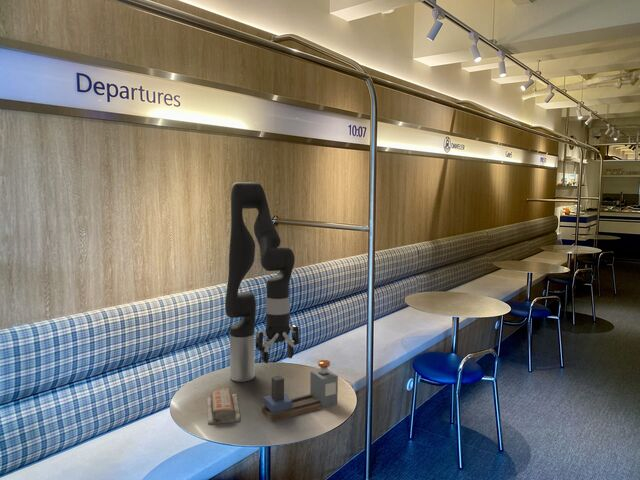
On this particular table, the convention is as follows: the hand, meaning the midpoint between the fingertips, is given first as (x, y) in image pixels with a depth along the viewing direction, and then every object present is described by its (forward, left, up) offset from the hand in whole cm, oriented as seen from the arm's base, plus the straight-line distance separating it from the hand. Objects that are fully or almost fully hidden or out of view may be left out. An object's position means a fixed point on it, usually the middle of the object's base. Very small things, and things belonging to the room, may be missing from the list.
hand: (277, 360), depth 152 cm
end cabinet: (0, +18, -18) cm, 25 cm away
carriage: (0, 0, -15) cm, 15 cm away
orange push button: (0, +18, -10) cm, 20 cm away
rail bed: (0, +5, -18) cm, 19 cm away
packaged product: (-11, -14, -19) cm, 26 cm away
